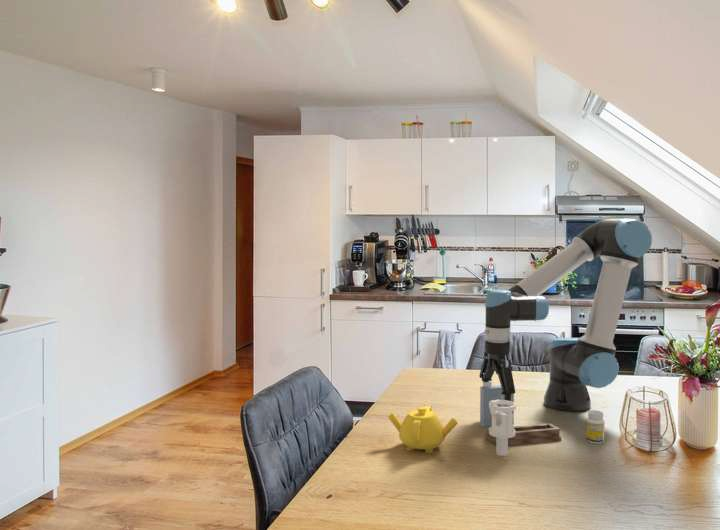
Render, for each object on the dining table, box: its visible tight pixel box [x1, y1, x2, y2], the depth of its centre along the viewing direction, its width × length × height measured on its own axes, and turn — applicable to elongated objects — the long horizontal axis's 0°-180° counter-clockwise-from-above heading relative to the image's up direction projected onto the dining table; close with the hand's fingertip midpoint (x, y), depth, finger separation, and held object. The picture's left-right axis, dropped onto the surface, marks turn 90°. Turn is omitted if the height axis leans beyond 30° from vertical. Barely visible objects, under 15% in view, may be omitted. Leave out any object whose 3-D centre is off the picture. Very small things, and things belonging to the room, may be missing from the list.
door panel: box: [479, 384, 515, 428], centre depth 191 cm, size 10×3×12 cm, turn 103°
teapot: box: [387, 405, 458, 454], centre depth 173 cm, size 20×18×11 cm
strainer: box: [488, 399, 517, 457], centre depth 167 cm, size 7×7×15 cm
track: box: [484, 423, 562, 446], centre depth 179 cm, size 20×8×3 cm, turn 103°
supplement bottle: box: [586, 409, 605, 445], centre depth 176 cm, size 5×5×8 cm
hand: (495, 408), depth 191 cm, fingers open, 13 cm apart
